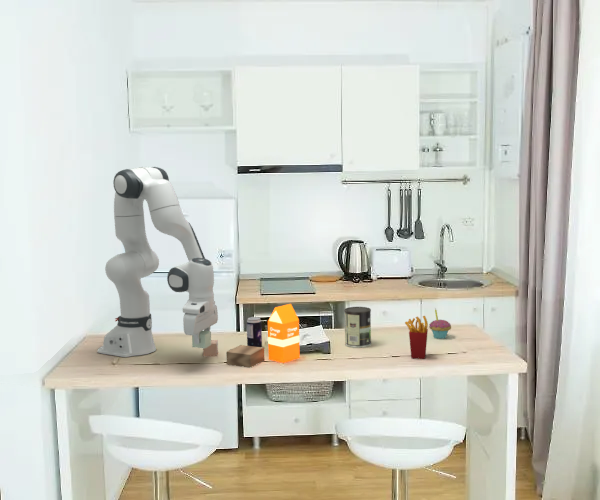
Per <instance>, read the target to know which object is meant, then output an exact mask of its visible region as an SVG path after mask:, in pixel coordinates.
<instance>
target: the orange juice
mask: <svg viewBox="0 0 600 500" xmlns="http://www.w3.org/2000/svg"><path fill="white" fill-rule="evenodd" d="M267 344H268V360H269V361H273V362H277V363H282V364H285V363H289V362H291V361H294V360H297V359H300V358H301V357H300V352H301V351H300V349H301V348H300V319H299V317H298V315H297V313H296V311H295V309H294V307H293V305H292V303H288V304H284V305H279V306H275V307H274V309H273V311H272V313H271V315H270V317H269V319H268V320H267Z"/></svg>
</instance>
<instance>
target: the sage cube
mask: <svg viewBox="0 0 600 500" xmlns="http://www.w3.org/2000/svg"><path fill="white" fill-rule="evenodd" d="M191 337H192V339H191V340H192V341H191V342H192V343H191V346H192V348H196V349H197V348H198V349H203V348H204V349H205V348H207V347H208V346H210V345H211V340H212V331H211V330H210V331H204V330H203V331H201V332H200V334H199V338H201V343H199V344H195V343H194V337H193V335H191Z"/></svg>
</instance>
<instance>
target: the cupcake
mask: <svg viewBox="0 0 600 500" xmlns="http://www.w3.org/2000/svg"><path fill="white" fill-rule="evenodd" d="M437 311H438V310H437V308H434V313H435V320H432V321H431V322H430V323H429V324H428V326H429V329H430V330H431V332H432V335H433V338H434V339H437V340H442V339H443V340H444V339H446V338H447V335H448V332H449V331H451V329H452V325H451V323H450V322H449V321H447V320H445V319H439V318H438V317H439V316H438V312H437Z"/></svg>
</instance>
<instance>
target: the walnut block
mask: <svg viewBox="0 0 600 500" xmlns="http://www.w3.org/2000/svg"><path fill="white" fill-rule="evenodd" d="M264 361H265V347H263V346H262V347H254V346H247V345H245V344H244V345H243V344H240V345H237V346H235V347H233V348H231V349H230V350H227V351H226V365H227V364H228V365H229V366H234V365H236V366H235V367H242V366H244V368H250V367H251V368H252V366H253V367H255V366H256V364H257V365H258V364H260V363H263V362H264ZM254 365H255V366H254Z"/></svg>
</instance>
